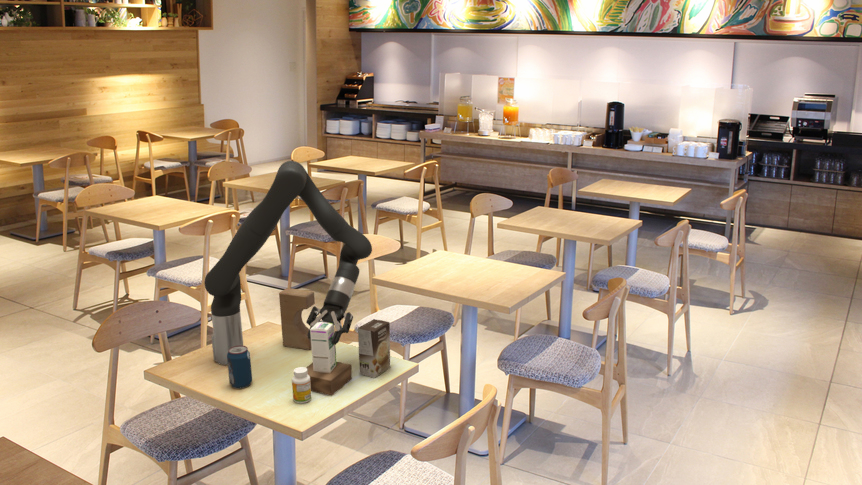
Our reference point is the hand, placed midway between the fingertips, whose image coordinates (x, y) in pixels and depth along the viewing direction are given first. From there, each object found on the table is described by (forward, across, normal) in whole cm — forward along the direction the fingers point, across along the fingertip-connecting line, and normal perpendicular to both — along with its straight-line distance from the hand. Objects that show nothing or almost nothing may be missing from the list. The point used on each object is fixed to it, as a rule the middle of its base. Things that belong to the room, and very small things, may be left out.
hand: (321, 341), depth 221 cm
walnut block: (+10, 0, +11) cm, 15 cm away
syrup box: (+6, 0, +8) cm, 10 cm away
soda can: (+18, -24, +3) cm, 30 cm away
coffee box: (0, +10, +21) cm, 23 cm away
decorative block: (-5, -24, +26) cm, 36 cm away
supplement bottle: (+18, -1, +3) cm, 18 cm away
